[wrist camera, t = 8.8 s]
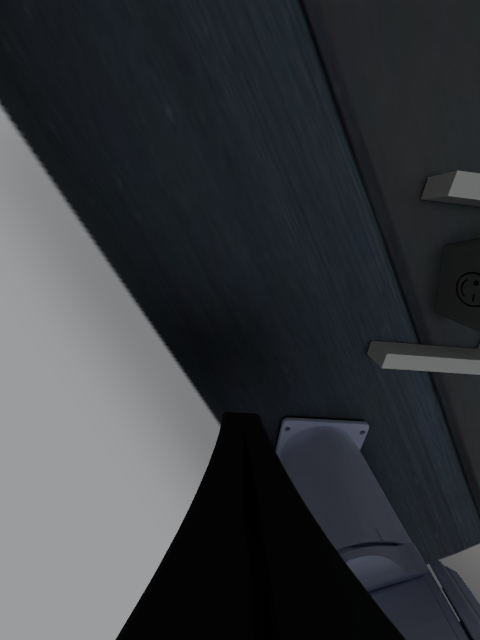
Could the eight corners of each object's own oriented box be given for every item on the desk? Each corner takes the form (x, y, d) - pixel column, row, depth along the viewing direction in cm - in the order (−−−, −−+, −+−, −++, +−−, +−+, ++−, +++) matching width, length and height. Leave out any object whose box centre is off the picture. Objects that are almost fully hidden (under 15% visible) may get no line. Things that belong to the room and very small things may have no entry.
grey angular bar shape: (483, 362, 20) (509, 376, 18) (366, 354, 19) (381, 368, 17) (577, 196, 15) (626, 193, 13) (428, 177, 14) (457, 170, 12)
